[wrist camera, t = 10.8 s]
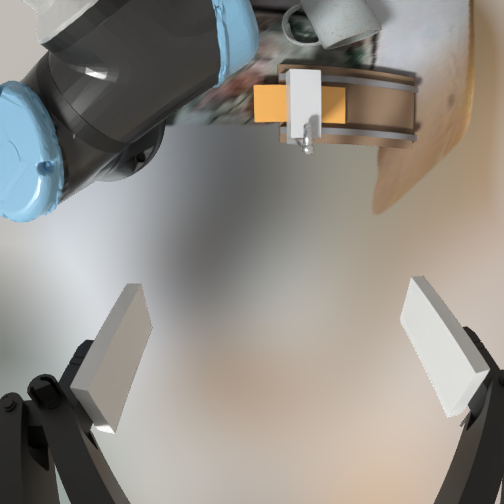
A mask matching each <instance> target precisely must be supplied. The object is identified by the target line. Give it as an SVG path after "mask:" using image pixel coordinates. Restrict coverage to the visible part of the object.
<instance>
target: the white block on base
mask: <svg viewBox="0 0 504 504" xmlns="http://www.w3.org/2000/svg"><path fill="white" fill-rule="evenodd" d="M254 112H255V122H287V134H288V135H289V136H290V137H291V138H303V125H304V124H305V123H306V122H309V123H311V124H312V126H313V138H321V123H342V124H345V88H343V87H329V86H321V70H308V69H289V70H288V71H287V72H286V85H254Z"/></svg>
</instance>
